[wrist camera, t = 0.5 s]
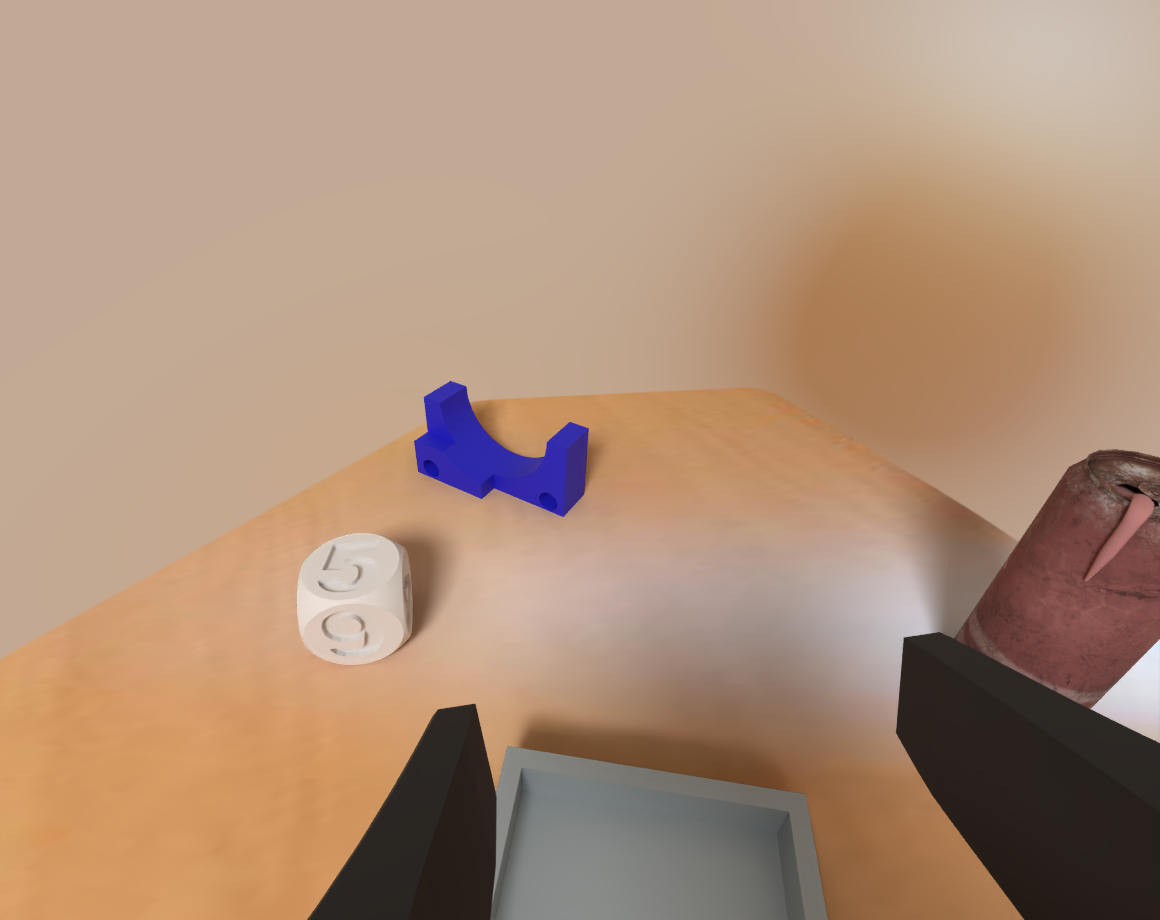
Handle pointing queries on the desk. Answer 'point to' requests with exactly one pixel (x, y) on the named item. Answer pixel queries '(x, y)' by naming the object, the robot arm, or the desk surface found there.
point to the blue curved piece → (498, 456)
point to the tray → (647, 845)
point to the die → (355, 599)
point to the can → (1080, 581)
